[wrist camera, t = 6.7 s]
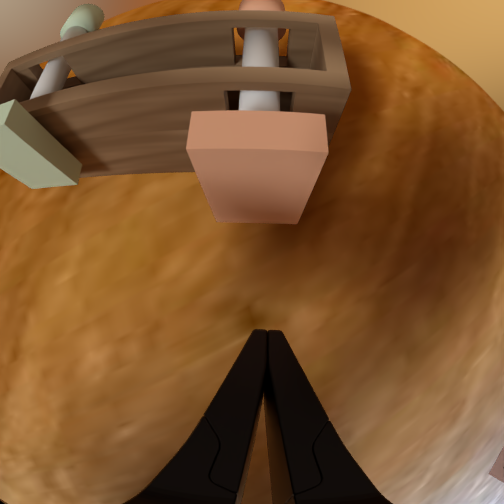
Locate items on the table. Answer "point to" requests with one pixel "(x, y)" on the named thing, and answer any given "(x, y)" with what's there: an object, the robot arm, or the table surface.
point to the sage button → (32, 132)
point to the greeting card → (498, 467)
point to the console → (173, 84)
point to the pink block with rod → (258, 144)
